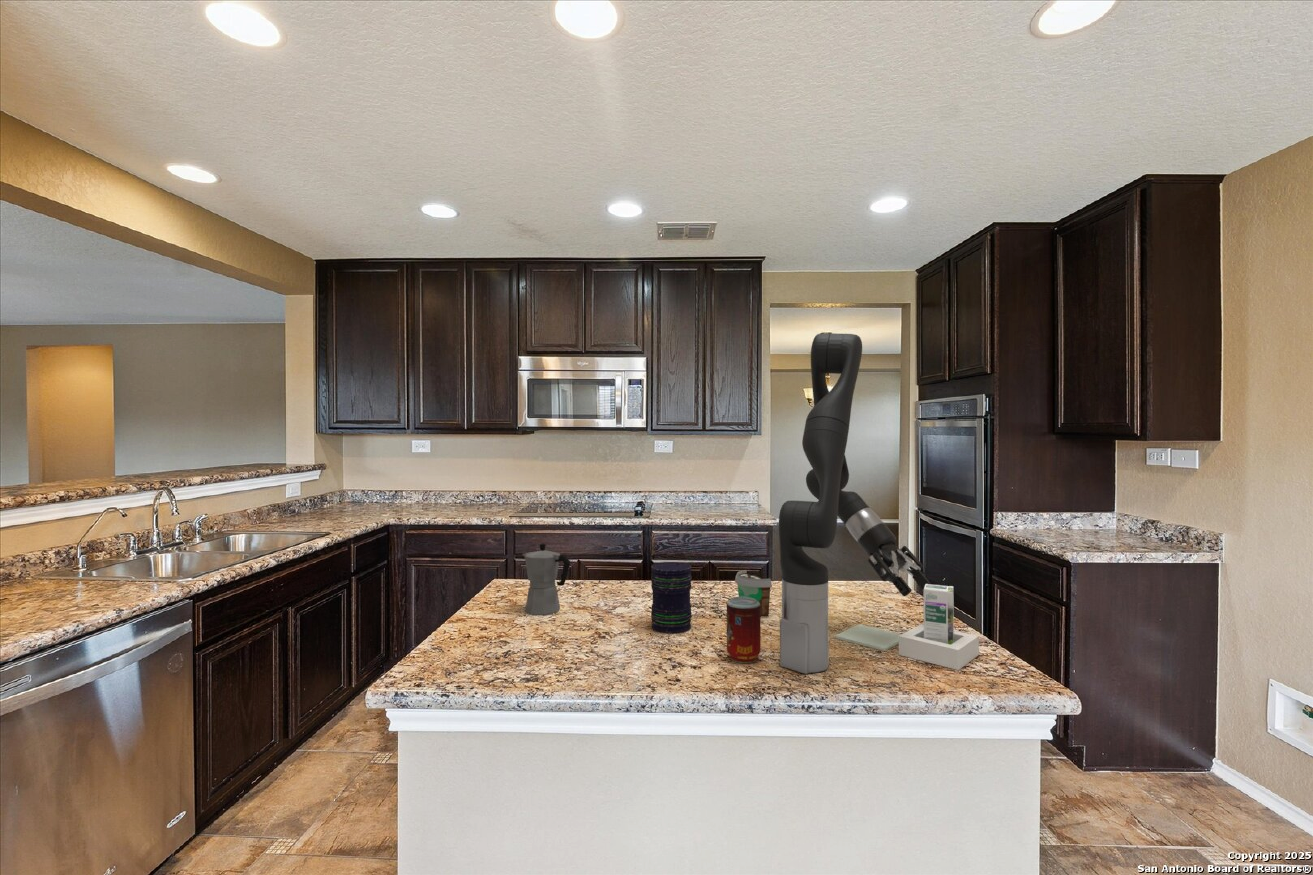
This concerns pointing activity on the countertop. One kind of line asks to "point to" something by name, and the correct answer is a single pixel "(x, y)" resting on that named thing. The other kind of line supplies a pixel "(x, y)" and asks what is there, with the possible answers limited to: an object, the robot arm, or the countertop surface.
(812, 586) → the robot arm
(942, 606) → the syrup box
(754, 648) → the soda can
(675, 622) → the storage jar
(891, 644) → the green mat
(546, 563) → the coffeepot
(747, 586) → the food container
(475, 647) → the countertop surface
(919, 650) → the socket collar
